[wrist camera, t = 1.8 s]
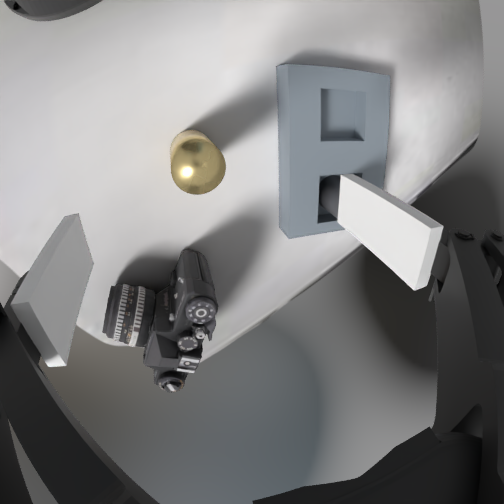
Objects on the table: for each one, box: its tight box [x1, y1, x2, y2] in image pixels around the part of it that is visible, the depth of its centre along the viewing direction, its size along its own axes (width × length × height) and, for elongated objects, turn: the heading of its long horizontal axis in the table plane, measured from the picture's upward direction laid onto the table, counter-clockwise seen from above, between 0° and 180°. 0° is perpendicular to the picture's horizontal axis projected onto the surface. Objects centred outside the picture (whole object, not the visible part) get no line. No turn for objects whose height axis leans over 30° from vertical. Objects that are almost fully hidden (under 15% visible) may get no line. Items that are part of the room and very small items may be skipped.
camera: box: [103, 249, 218, 393], centre depth 30 cm, size 14×11×10 cm
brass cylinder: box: [170, 130, 226, 194], centre depth 24 cm, size 4×4×8 cm
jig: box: [276, 64, 390, 239], centre depth 28 cm, size 18×12×8 cm, turn 2°
